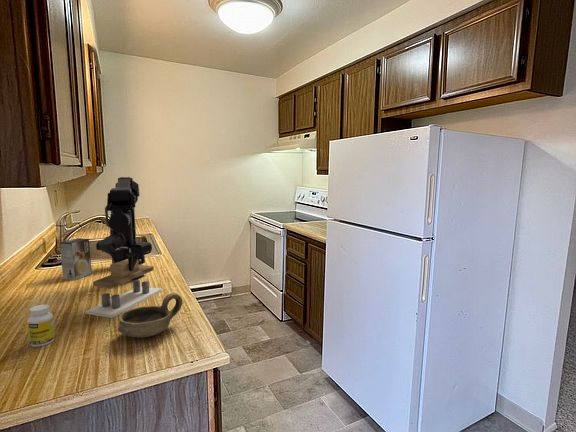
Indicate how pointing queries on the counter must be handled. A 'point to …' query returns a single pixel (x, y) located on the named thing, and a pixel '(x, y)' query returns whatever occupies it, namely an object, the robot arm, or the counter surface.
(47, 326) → the supplement bottle
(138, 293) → the peg stand
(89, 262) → the coffee box
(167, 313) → the bowl
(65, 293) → the counter surface
